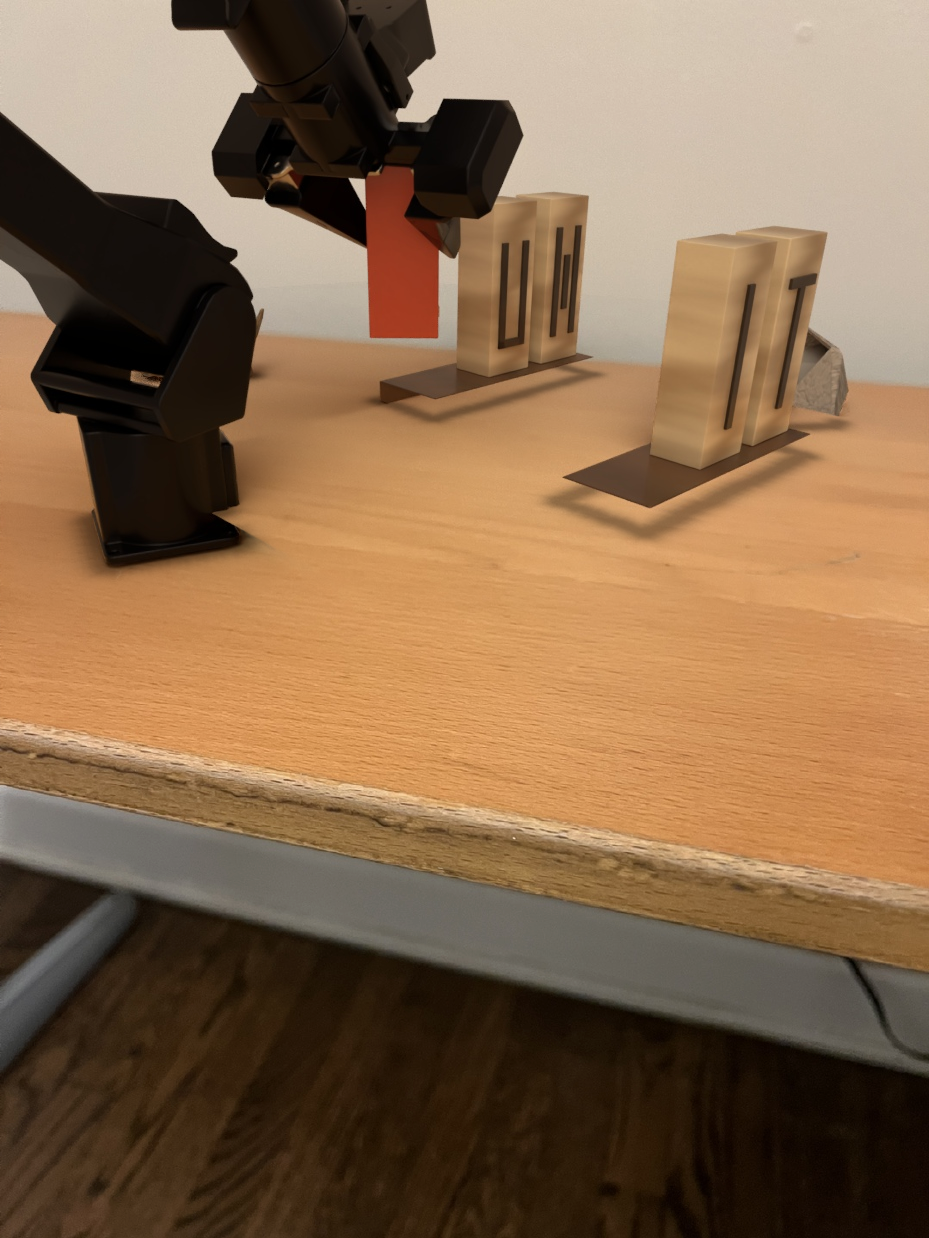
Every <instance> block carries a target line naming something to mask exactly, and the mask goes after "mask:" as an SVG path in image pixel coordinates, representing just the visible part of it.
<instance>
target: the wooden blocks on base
mask: <svg viewBox="0 0 929 1238" xmlns="http://www.w3.org/2000/svg"><path fill="white" fill-rule="evenodd" d="M589 199H590V195H589V194H588V195H587V194H579V193H569V192H562V191H561V192H560V191H545V192H532V193H522V194H515V196H507V195H498V197H497V199H496V201H495V204H494V206H493V208H492V211H491V212H490V213H488V214H486V215H485V216H483V217H482V218H480V219H468V218H460V225H461V246H460V249H459V251H458V254H457V306H456V307H457V309H456V310H457V312H456V313H457V315H456V317H457V318H456V362H454V363H450V364H445V365H442V366H437V367H433V368H428V369H425V370H421V371H415V372H412V373H411V372H410V373H408V374H404V375H403V374H402V375H400V376H395V377H391V378H387V379H382V380H379V401H380V402H383V403H386V404H391V403H395V402H399V401H403V400H406V399H410V398H414V397H418V396H423V397H427V398H429V399H433V400H438V399H442V398H446V397H450V396H453V395H458V394H460V393H465V392H469V391H472V390H477V389H480V388H483V387H487V386H491V385H495V384H499V383H503V382H505V381H510V380H514V379H517V378H521V377H525V376H529V375H532V374H536V373H540V372H543V371H544V372H545V371H548V370H551V369H556V368H559V367H563V366H567V365H570V364H573V363H578V362H581V361H585V360H588V359H593V358H594V356H592V355H588V354H584V353H581V352H577V348H578V347H577V345H578V337H579V336H578V333H579V323H580V311H581V298H582V285H583V274H584V273H583V272H584V262H585V261H584V260H585V248H586V236H587V223H588V213H589Z"/></svg>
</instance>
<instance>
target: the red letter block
mask: <svg viewBox="0 0 929 1238" xmlns="http://www.w3.org/2000/svg"><path fill="white" fill-rule="evenodd" d="M364 194H365V195H364V197H365V198H364V199H365V210H366V233H367V249H366V258H367V259H366V261H367V294H368V295H367V297H368V328H369V329H368V330H369V333H368V334H369V338H370V339H439V318H440V303H439V301H440V299H439V296H440V294H439V292H440V289H439V288H440V251H439V250H438V249H437V248H436V247H435V246H434V245H433V244H432V243H431V242H430V241H429V240H428V239H427V238H426V237H425V236H424V235H423V234H422V233H420V232H419V231H418V230H417V229H416V228H415V227H414V226H413V225H412V224H411V223H410V222H409V221H408V220H407V219H406V218H405V217H404V214H405V212H406V210H407V207H408V205H409V203H410V201H411V198H412V196H413V194H414V177H413V175H412V173H411V171H410V168H405V167H390V166H385V168H384V170H383V172H382V174H381V175H379V176H367V178H366V179H364Z"/></svg>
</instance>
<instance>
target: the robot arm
mask: <svg viewBox="0 0 929 1238" xmlns="http://www.w3.org/2000/svg"><path fill="white" fill-rule="evenodd" d="M170 9H171V10H170V12H171V13H170V18H171V19H170V20H171V23H172V26H173V28H175V29H176V30H177V31H181V32H185V31H186V32H189V31H190V32H192V31H193V32H194V31H195V32H196V31H198V32H200V31H223V33H224V34H225V36H226V38H227V39H228V41H229V42H230V43H231V45H232V47H233V48H234V50H235V51H236V53H237V55H238V56H239V57H240V59H241V61H242V62H243V64H244V65H245V67H246V69H247V70H248V72H249V74H250V75H251V77H252V78H253V80H254V82H255V83H256V85H255V88H254V90H253V92H240V94H239V96H238V98H237V100H236V101H235V104H234V106H233V108H232V110H231V111H230V114H229V115H228V117H227V120H226V122H225V124H224V126H223V128H222V129H221V132H220V133H219V136H218V138H217V140H216V142H215V144H214V145H213V147H212V150H211V152H210V153H211V155H210V156H211V165H212V173H213V176H214V178H216V180H217V181H218V182H219V184H220V185H221V186H222V187H223V189H224V190H225V191H226V193H227V194H228V195H229V197H230V198H237V199H249V200H257V201H259V200H260V201H263V200H264V201H265V203H266V204H267V206H269V207H270V208H272V209H273V208H274V209H279V210H282V211H284V212H286V213H289V214H291V215H293V216H296V217H298V218H300V219H302V220H305V221H307V222H310V223H312V224H314V225H316V226H318V227H320V228H322V229H324V230H326V231H329V232H331V233H333V234H334V235H337V236H339V237H341V238H343V239H345V240H347V241H348V242H349V241H350V242H352V243H354V244H356V245H358V246H360V247H361V248H364V249H365V250H367V233H366V207H365V206H364V204H363V202H362V201H361V199H360V197H359V194H358V193H357V191H356V190H355V187H354V186H353V184H352V182H351V180H350V179H354V180H355V179H356V180H365V179H366V178H367V176H379V175H381V174H382V172H383V170H384V168H385V166H390V167H405V168H410V171H411V173H412V175H413V177H414V194H413V196H412V198H411V201H410V203H409V205H408V207H407V210H406V212H405V214H404V217H405V218H406V219H407V220H408V221H409V222H410V223H411V224H412V225H413V226H414V227H415V228H416V229H417V230H418V231H419V232H420V233H422V234H423V235H424V236H425V237H426V238H427V239H428V240H429V241H430V242H431V243H432V244H433V245H434V246H435V247H436V248H437V249H438V250H439V252H441V254H443V255H445V256H446V257H447V258H448V259H453V260H455V259H456V258H457V257H458V251H459V249H460V246H461V225H460V218H468V219H480V218H482V217H483V216H485V215H486V214H488V213H490V212H491V211H492V208H493V206H494V204H495V201H496V199H497V197H498V196H499V195H500V192H501V189H502V187H503V185H504V182H505V180H506V178H507V176H508V173H509V170H510V169H511V166H512V164H513V161H514V159H515V157H516V154H517V152H518V150H519V147H520V146H521V144H522V140H523V138H524V132H523V130H522V126H521V123H520V121H519V118H518V115H517V112H516V110H515V108H514V107H513V105H512V103H511V102H510V100H509V99H487V98H486V99H484V98H482V99H481V98H448V97H447V98H445V97H444V98H442V100H441V102H440V105H439V107H438V109H437V111H436V112H435V113H436V114H433V115H431V116H430V117H429V118H428V119H426V121H424V122H419V121H399V119H398V117H397V113H398V111H399V109H407V107H408V105H409V103H410V100H411V99H412V96H413V94H414V92H415V90H414V89H413V86H412V83H410V80H409V77H410V76H411V75H413V74H414V73H415V71H416V70H418V69H419V68H420V66H422V64H424V62H426V61H431V60H432V59H433V58H434V57H435V56H436V55H437V50H436V44H435V39H434V34H433V28H432V23H431V19H430V18H431V17H430V13H429V8H428V3H427V0H170ZM238 255H239V252H238V249H236V248H234V247H229V246H226V245H224V244H222V243H221V242H219V241H218V240H217V239H215V238H214V237H213V235H211V234H210V233H209V232H208V230H207V229H206V228H205V227H204V225H203V223H201V221H200V220H199V218H198V217H197V216H196V214H195V213H194V212H193V211H192V210H191V209H190V208H188V207H187V206H186V205H184V204H183V203H182V202H180V200H178V199H176V198H167V197H159V196H158V197H157V196H156V197H155V196H148V195H147V196H146V195H136V194H125V193H114V192H105V191H104V192H103V191H95V190H93V189H92V188H91V187H89V186H88V185H87V184H86V183H84V182H83V181H82V180H81V179H80V178H79V177H78V176H77V175H76V174H74V173H73V172H72V171H71V170H69V168H67V167H66V166H64V164H62V163H61V162H60V161H59V160H58V159H57V158H55V157H54V156H53V155H52V154H51V153H49V152H48V151H47V150H46V149H45V148H44V147H42V146H41V145H40V144H39V143H38V142H37V141H36V140H34V139H33V137H31V136H30V135H28V134H27V133H26V132H25V131H24V130H23V129H22V128H20V127H19V126H18V125H16V124H15V123H14V121H12V120H11V119H9V118H8V117H7V116H6V115H5V114H4V113H3V112H1V111H0V261H2V262H3V263H5V264H6V265H7V266H9V267H10V268H12V269H14V270H15V271H16V272H17V273H18V274H19V275H20V276H22V277H23V278H24V279H25V280H26V282H27V283H28V285H29V286H30V288H31V290H32V292H33V294H34V296H35V298H36V299H37V302H38V303H39V305H40V307H41V308H42V310H43V312H44V314H45V316H46V317H47V318H48V320H50V321H51V322H52V323H53V324H54V325H55V327H54V328H53V330H52V333H50V336H49V337H48V339H47V342H46V343H45V345H44V347H43V349H42V351H41V353H40V354H39V357H37V360H36V362H35V364H34V366H33V367H32V369H31V372H30V381H31V383H32V384H33V386H34V388H35V390H36V392H37V394H38V395H39V397H40V399H41V400H42V402H43V404H44V406H45V407H46V409H47V411H48V412H49V413H53V414H58V415H61V414H65V415H69V416H74V417H75V418H76V422H77V428H78V433H79V438H80V443H81V447H82V448H81V449H82V453H83V458H84V463H85V468H86V473H87V479H88V483H89V488H90V489H89V490H90V494H91V499H92V505H93V509H91V511H90V512H91V519H92V521H93V525H94V529H95V532H96V535H97V539H98V542H99V546H100V549H101V553H102V556H103V560H104V562H105V563H106V564H107V565H113V566H114V565H121V564H129V563H134V562H138V561H139V562H140V561H145V560H153V559H157V558H164V557H170V556H175V555H183V554H188V553H193V552H199V551H200V552H201V551H205V550H212V549H217V548H218V549H219V548H223V547H229V546H235V545H238V544H240V542H241V536H240V531H239V530H238V527H237V526H236V525H235V524H233V523H232V522H229V521H227V520H226V519H224V518H222V517H220V516H218V515H217V514H214V513H217V512H223V511H228V510H229V509H230V508H234V507H238V506H239V505H241V503H240V494H239V486H238V485H239V484H238V477H237V468H236V457H235V449H234V445H233V443H232V442H231V440H230V439H229V438H228V436H227V435H226V433H225V432H224V430H222V429H221V427H224V426H227V425H229V424H231V423H234V422H237V421H239V420H242V419H244V418H245V416H246V410H247V402H248V396H249V395H248V394H249V388H250V380H251V376H250V374H251V367H252V368H253V359H254V353H255V348H254V346H256V342H255V338H256V328H257V322H256V317H257V314H256V310H255V306H254V304H253V303H252V301H253V299H254V293H253V290H252V288H251V286H250V284H249V282H248V279H246V277H245V276H244V274H242V273H241V271H240V270H239V268H238V267H236V266H235V265H233V263H232V262H233V261H234V260H235V259H237V257H238ZM256 339H257V338H256ZM132 372H133V373H137V374H138V373H139V374H142V373H143V374H148V375H153V376H154V377H158V378H161V380H160V383H159V384H158V385H154V384H149V383H144V382H139V381H136V380H132V379H131V378H132ZM153 376H152V377H153Z"/></svg>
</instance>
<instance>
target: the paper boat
mask: <svg viewBox="0 0 929 1238" xmlns="http://www.w3.org/2000/svg"><path fill="white" fill-rule="evenodd" d="M848 393H849V384H848V378H847V372H846V366H845V361H844V355H843V353H842V351H841V349H840V347H838V346H837V345H835V344H834V343H833V342H831V341H829V340H828V339H826V338H825V337H823V336H822V335H821V334H819V333H818V332H816V331H815V330H814V329H812V328H811V327H810V326H809V327H808V332H807V337H806V342H805V347H804V351H803V356H802V361H801V366H800V371H799V376H798V381H797V386H796V391H795V395H794V400H793V405H792V407H798V408H801V409H805V410H809V411H814V412H817V413H822V414H826V415H830V416H834V417H839V416H840V413H841V410H842V408H843V406H844V403H845V400H846V398H847V396H848Z"/></svg>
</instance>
